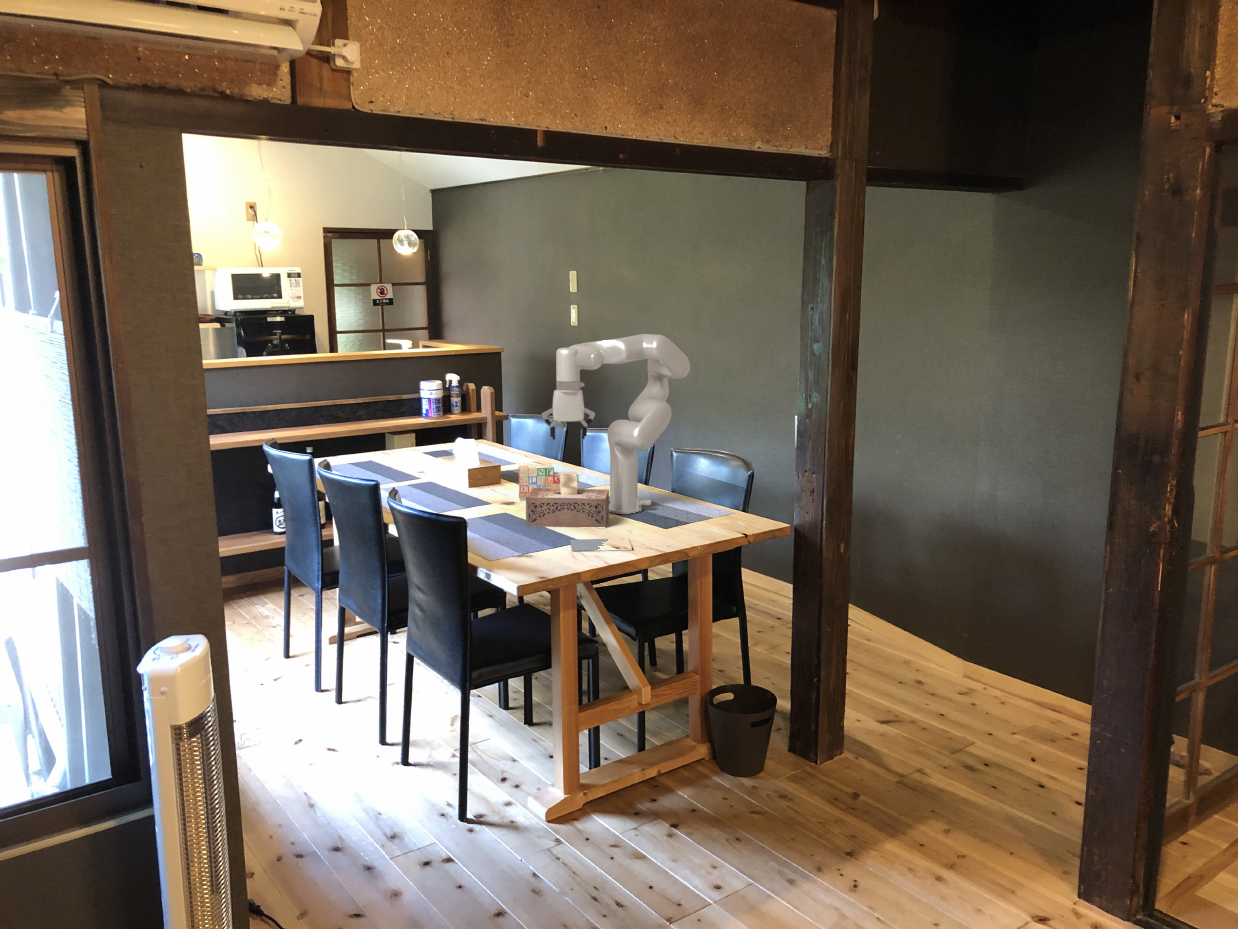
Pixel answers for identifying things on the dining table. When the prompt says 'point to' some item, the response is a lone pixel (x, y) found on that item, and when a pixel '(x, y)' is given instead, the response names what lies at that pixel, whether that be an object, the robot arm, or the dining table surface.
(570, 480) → the maple block
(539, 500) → the tissue box cover
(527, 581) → the dining table surface
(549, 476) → the stack of blocks
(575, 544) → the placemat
